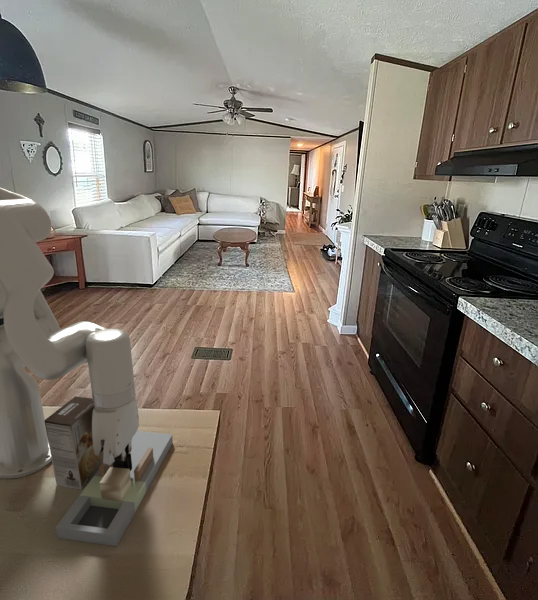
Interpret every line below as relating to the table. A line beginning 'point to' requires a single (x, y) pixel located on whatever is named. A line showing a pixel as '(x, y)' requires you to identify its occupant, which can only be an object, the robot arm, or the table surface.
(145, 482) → the recessed deck with rails
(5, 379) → the robot arm
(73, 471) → the coffee box
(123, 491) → the cream block
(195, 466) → the table surface
